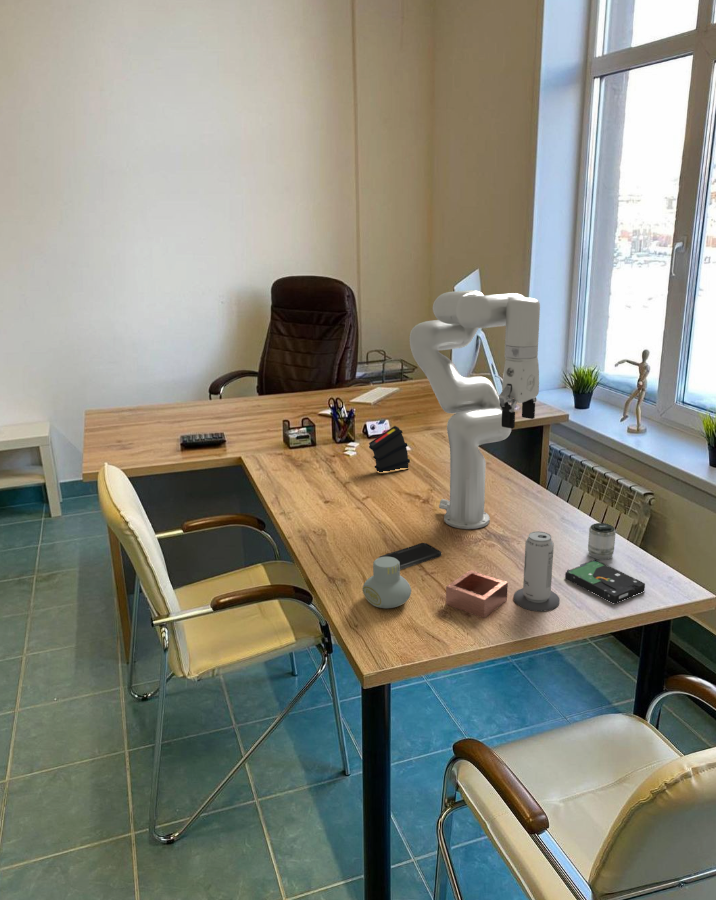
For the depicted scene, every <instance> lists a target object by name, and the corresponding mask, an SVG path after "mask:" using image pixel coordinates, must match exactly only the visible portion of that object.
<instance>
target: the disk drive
mask: <svg viewBox="0 0 716 900" xmlns="http://www.w3.org/2000/svg"><path fill="white" fill-rule="evenodd" d="M564 575H565V577H564V579H565V580H566V581H568V582H571V583H572V584H575V585H576V586H578V587H580V588H582V589H583V590H586V591H588V590H589V591H588V592H590V593H591V592H593V593H595V594H597V595H599V596H600V597H599V596H598V597H599V598H601V597H602V598H601V599H603V598H604V599H606V600H608V601H610V602H612V603H617V602H619V601H621V602H623V601H622V600H624V599H626V600H628V599H627V598H629V597H631V598H633V597H632V596H633V595H636V594H638V593H641V592H643V591H644V592H645V590H646V589H645V588H646V583H645V582H642V581H641V580H639V579H637V578H634V577H633V576H631V575H628V574H626V573H624V572H622V571H620V570H618V569H616V568H613V567H611V566H609V565H608V564H605V563H603V562H601V561H599V560H598V559H593V560H590V561H588V562H585V563H582V564H579V566H576V567H573V568H569V569H567V570H566V572H565V574H564ZM644 592H643V593H644ZM593 593H592V594H593ZM595 594H594V595H595ZM641 594H642V593H641ZM597 595H596V596H597ZM638 595H639V594H638ZM636 596H637V595H636ZM604 599H603V600H604ZM629 599H630V598H629ZM606 600H605V601H606ZM608 601H607V602H608ZM624 601H625V600H624ZM610 602H609V603H610ZM612 603H611V604H612ZM619 603H620V602H619ZM617 604H618V603H617Z"/></svg>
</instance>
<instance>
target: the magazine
mask: <svg viewBox="0 0 716 900" xmlns="http://www.w3.org/2000/svg"><path fill="white" fill-rule="evenodd" d="M402 433H403V430H402V429H400V428H399V427H398V426H396V425H393V426H392V427H390V428H389V429H388V430H386V431H384V432H383V433H382V434H380V435H379V436H377V437H375V438H374V439H373V440H372V441H370V442H369V443H368V445H369V446H368V447H369V450H371V451H372V452H373V453H372V454H373V456H372V458H373V459H374V460H375V465H374V468H375V471H376V470H377V471H379V472H383V471H390V470H395V469H400V468H408V467H409V464H410V463H411V460H410V458H409V455H408V449H407V447H408V443H407V442H405V438H404V436H403V434H402Z"/></svg>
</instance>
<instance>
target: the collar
mask: <svg viewBox="0 0 716 900" xmlns="http://www.w3.org/2000/svg"><path fill="white" fill-rule="evenodd" d="M508 584H509V583H508V581H505V580H501V579H498V578H495V577H493V576H490V575H487V574H484V573H480V572H477V571H475V570H473V569H472V570H471V569H469V570H468V571H466V572H464V573H463V574H462V575H461V576H459V577H457V578H456V579H454V580H453V581H452V582H450V583H449V584H446V587H445V589H446V590H445V605H447V606H450V607H452V608H455V609H458V610H461V611H462V612H466V613H468V614H471V615H474V616H476V617H479V618H482V619H485V618H487V617H488V616H489V615H490V614H492V613H494V611H495V610H497V609H498V608H499V607H501V606H502V605H503V604H505V602H506V601H508V587H509V585H508Z"/></svg>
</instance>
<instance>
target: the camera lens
mask: <svg viewBox="0 0 716 900" xmlns="http://www.w3.org/2000/svg"><path fill="white" fill-rule="evenodd" d="M616 533H617V531H616V528H615V527H614V526H613V525H611V524H609V523H606V522H597V523H593V524H591V525H590V526H589V528H588V541H587V542H588V544H587V549H588V555H589V556H590V557H591V558H592V559H594V560H602V561H603V560H611V558H612V557H613V555H614V551H615V545H616Z"/></svg>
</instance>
